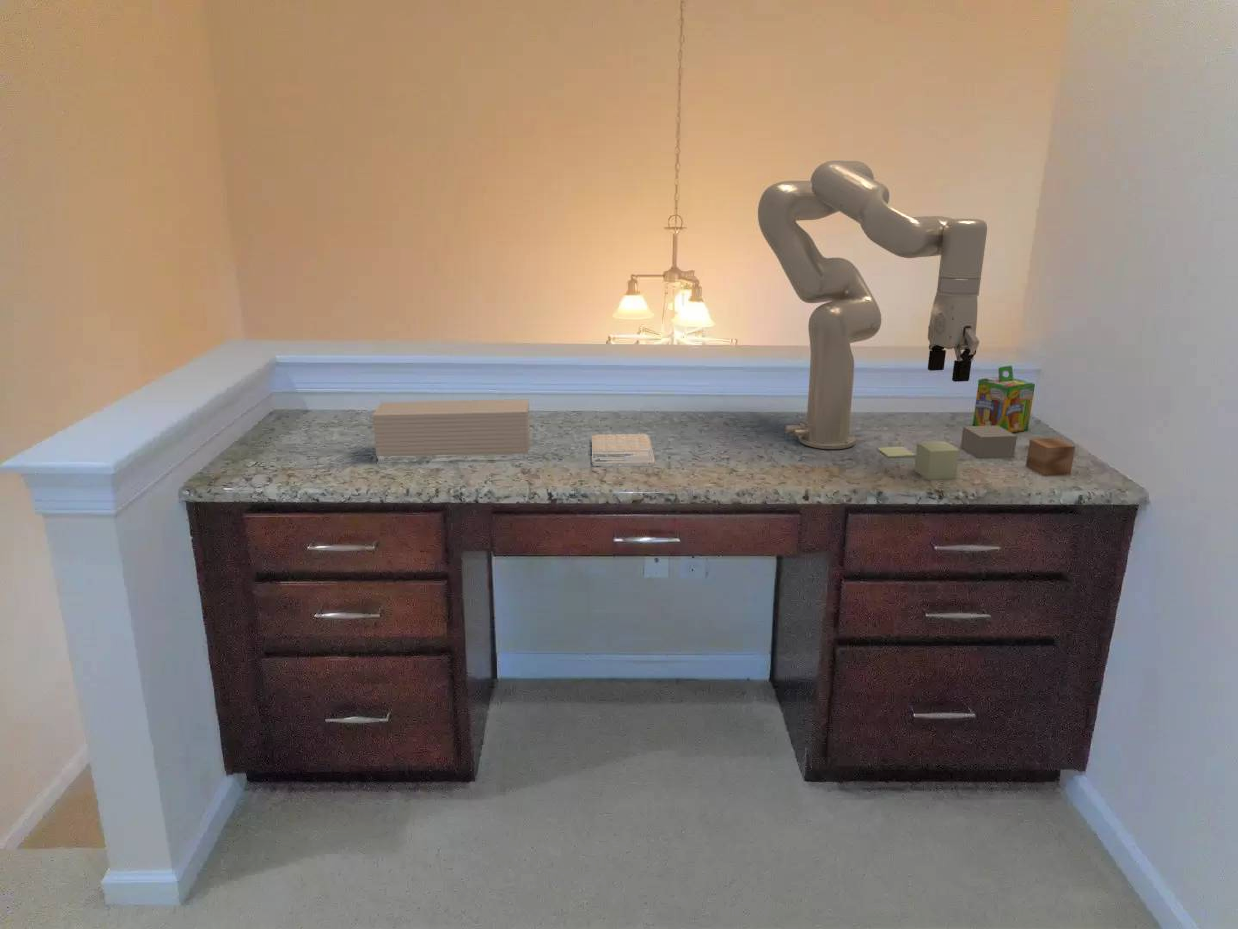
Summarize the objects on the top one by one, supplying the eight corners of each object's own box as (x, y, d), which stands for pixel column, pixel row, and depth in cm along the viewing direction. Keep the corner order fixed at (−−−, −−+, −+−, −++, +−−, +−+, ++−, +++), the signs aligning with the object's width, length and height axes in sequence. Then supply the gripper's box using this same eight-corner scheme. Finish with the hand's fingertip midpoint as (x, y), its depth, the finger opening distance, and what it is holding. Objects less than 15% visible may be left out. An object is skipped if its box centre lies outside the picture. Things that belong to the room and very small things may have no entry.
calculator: (649, 440, 199) (649, 432, 198) (655, 468, 180) (655, 460, 179) (591, 441, 198) (591, 433, 198) (591, 469, 180) (591, 461, 179)
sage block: (927, 480, 172) (931, 451, 170) (914, 470, 177) (917, 442, 175) (956, 478, 172) (959, 450, 170) (941, 468, 178) (945, 441, 176)
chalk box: (1002, 435, 200) (1011, 373, 195) (970, 426, 208) (979, 365, 203) (1029, 430, 204) (1039, 369, 199) (997, 421, 212) (1006, 361, 207)
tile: (888, 457, 185) (888, 456, 184) (876, 449, 190) (877, 447, 190) (914, 456, 185) (915, 455, 185) (902, 448, 191) (902, 446, 191)
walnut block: (1042, 476, 174) (1047, 447, 172) (1025, 466, 179) (1030, 439, 177) (1070, 474, 174) (1075, 446, 172) (1052, 465, 180) (1057, 437, 178)
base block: (977, 459, 184) (980, 437, 183) (960, 448, 192) (963, 426, 190) (1013, 458, 185) (1017, 436, 183) (995, 447, 192) (998, 425, 191)
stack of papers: (377, 464, 182) (372, 415, 179) (386, 448, 192) (381, 402, 189) (529, 460, 185) (527, 411, 181) (530, 445, 195) (528, 399, 191)
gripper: (918, 281, 171) (909, 366, 176) (963, 293, 154) (951, 386, 160) (954, 280, 172) (943, 365, 177) (1002, 292, 155) (989, 385, 161)
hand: (947, 375), depth 168 cm, fingers open, 9 cm apart
